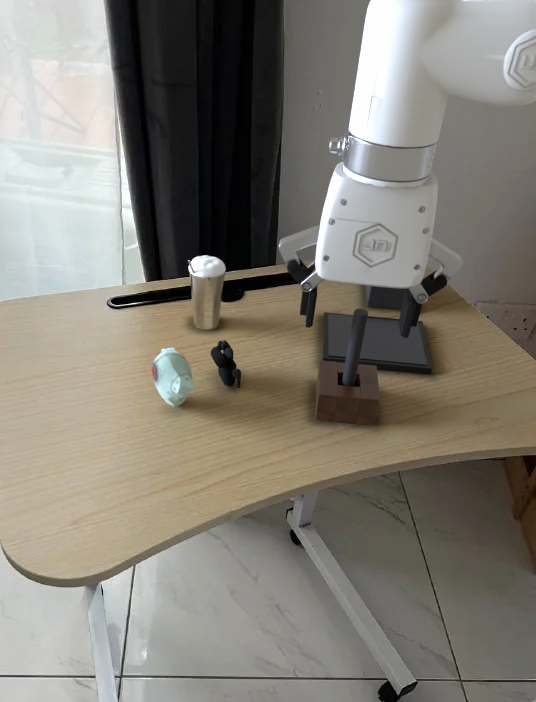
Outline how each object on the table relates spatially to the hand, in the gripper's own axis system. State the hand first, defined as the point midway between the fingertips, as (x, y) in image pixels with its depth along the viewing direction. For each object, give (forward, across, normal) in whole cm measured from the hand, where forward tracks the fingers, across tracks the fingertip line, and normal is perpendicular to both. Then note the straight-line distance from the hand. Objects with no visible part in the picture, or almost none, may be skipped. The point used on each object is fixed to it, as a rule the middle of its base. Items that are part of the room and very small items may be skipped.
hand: (355, 325), depth 67 cm
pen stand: (+10, 0, 0) cm, 10 cm away
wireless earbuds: (+11, -14, +2) cm, 17 cm away
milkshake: (+11, -18, +14) cm, 25 cm away
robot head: (+11, -19, -3) cm, 22 cm away
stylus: (+10, 0, 0) cm, 10 cm away
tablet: (+10, +4, +13) cm, 17 cm away
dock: (+10, +7, +26) cm, 29 cm away
